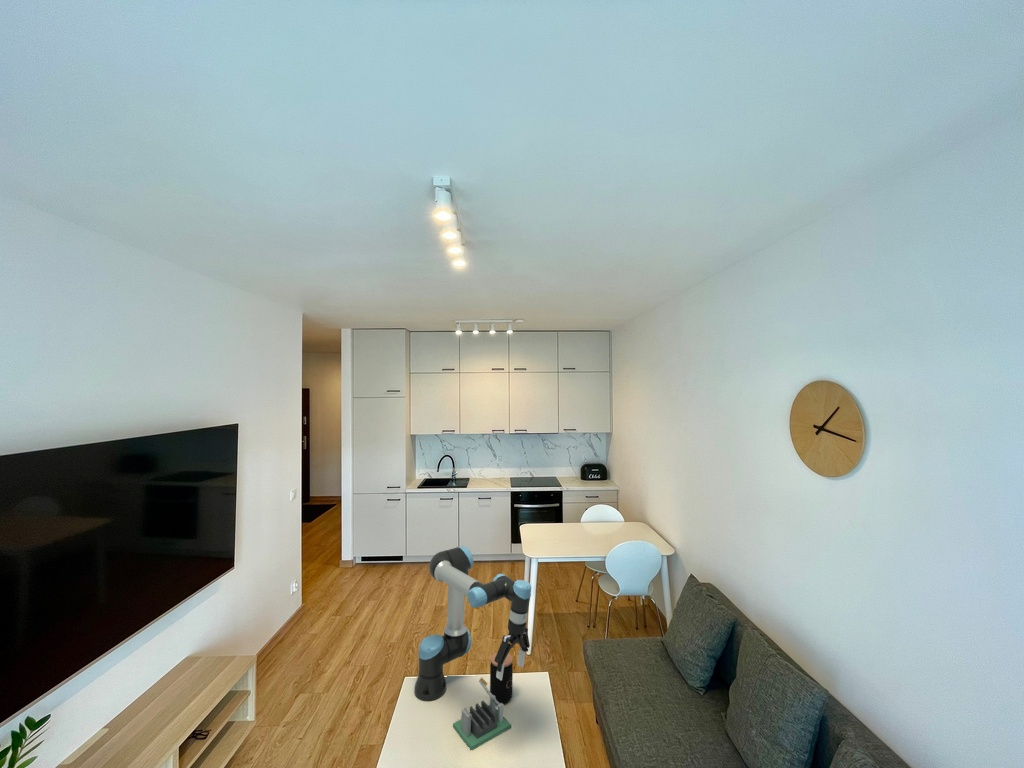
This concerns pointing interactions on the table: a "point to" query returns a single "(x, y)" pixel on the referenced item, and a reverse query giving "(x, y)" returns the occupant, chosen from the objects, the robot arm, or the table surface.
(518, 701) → the table surface
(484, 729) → the cpu board
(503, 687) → the coffee jar
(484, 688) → the silver flat bar
